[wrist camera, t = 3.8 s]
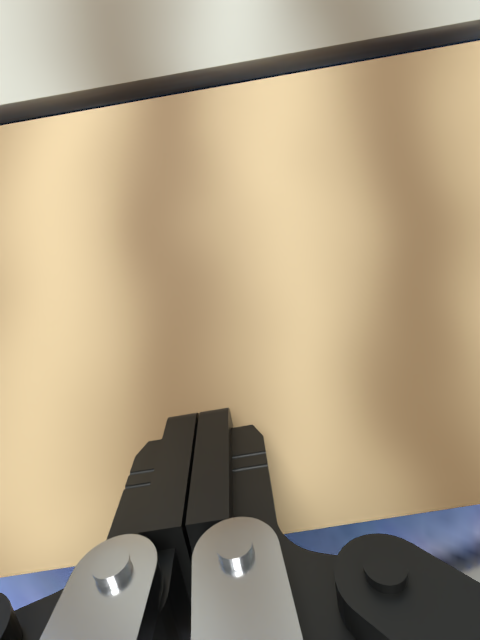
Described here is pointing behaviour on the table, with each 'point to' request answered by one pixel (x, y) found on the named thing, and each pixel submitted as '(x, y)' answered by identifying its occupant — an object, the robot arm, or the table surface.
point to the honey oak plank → (245, 294)
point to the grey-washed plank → (197, 44)
